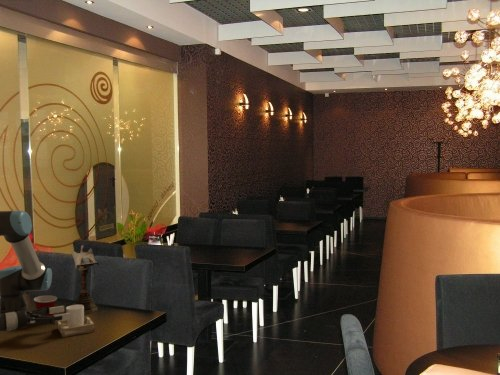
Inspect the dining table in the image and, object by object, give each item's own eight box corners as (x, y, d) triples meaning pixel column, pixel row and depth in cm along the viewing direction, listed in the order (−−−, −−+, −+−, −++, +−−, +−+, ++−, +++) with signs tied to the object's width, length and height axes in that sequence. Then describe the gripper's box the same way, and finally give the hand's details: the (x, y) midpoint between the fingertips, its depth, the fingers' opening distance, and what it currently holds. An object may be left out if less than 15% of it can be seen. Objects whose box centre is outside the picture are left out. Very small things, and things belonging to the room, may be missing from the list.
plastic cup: (50, 325, 255) (49, 301, 254) (30, 324, 257) (28, 300, 256) (62, 318, 265) (61, 295, 265) (43, 318, 267) (41, 294, 267)
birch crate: (57, 328, 250) (57, 321, 250) (88, 323, 257) (87, 316, 257) (62, 337, 238) (62, 329, 238) (94, 331, 245) (94, 324, 244)
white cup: (67, 332, 242) (66, 310, 241) (66, 327, 249) (65, 305, 248) (85, 329, 245) (84, 307, 244) (83, 324, 252) (82, 303, 252)
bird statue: (105, 313, 272) (102, 245, 270) (78, 318, 266) (75, 248, 264) (97, 306, 287) (94, 241, 285) (72, 310, 281) (69, 243, 278)
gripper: (14, 321, 246) (62, 313, 256) (20, 336, 224) (72, 327, 234) (13, 305, 245) (61, 298, 256) (19, 319, 224) (71, 310, 234)
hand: (66, 312), depth 245 cm, fingers open, 13 cm apart
